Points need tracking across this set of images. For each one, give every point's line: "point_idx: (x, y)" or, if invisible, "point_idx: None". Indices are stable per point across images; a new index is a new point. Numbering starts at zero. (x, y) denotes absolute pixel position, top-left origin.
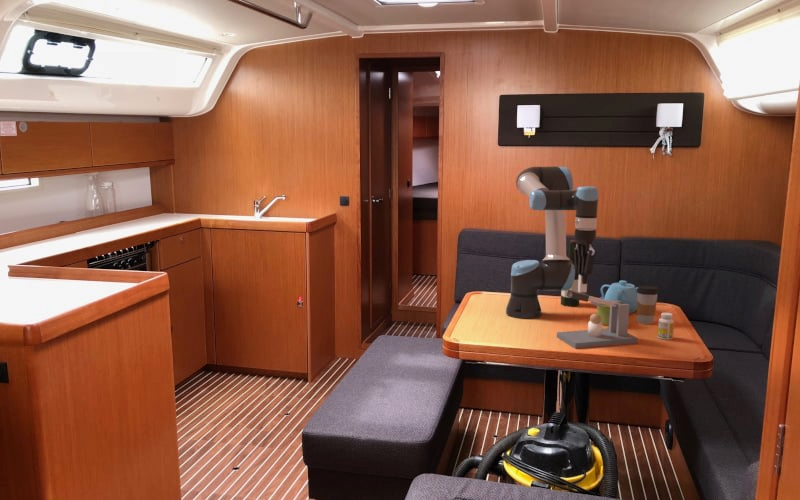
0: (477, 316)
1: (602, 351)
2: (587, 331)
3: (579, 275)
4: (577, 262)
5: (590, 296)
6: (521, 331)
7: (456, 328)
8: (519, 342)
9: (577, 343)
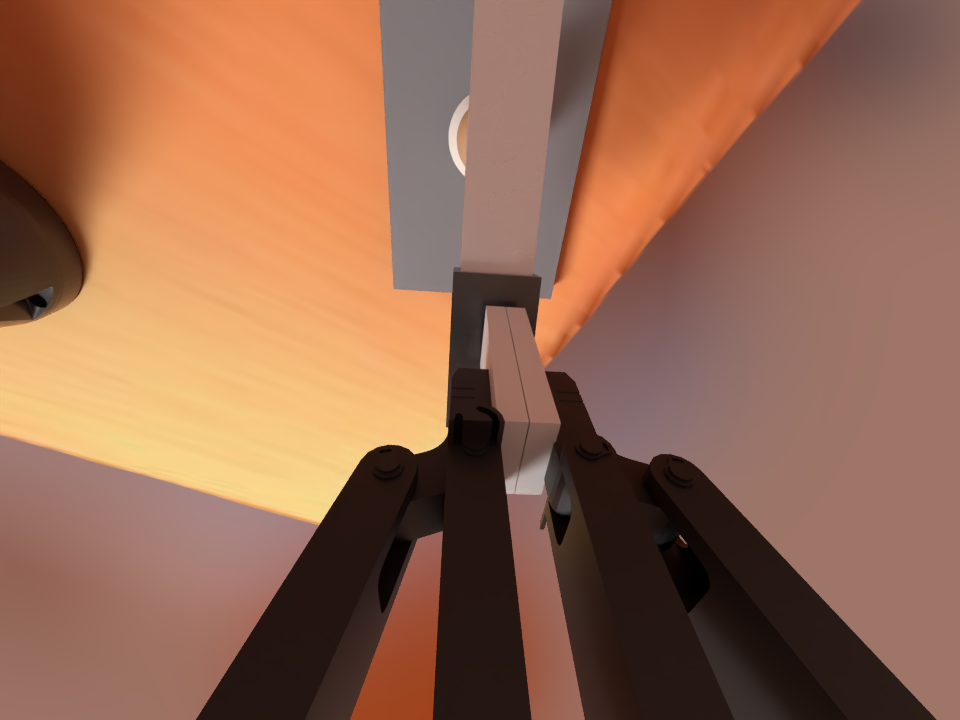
0: (86, 418)
1: (624, 205)
2: (413, 129)
3: (506, 486)
4: (361, 671)
5: (493, 223)
6: (299, 363)
7: (256, 501)
8: (423, 415)
9: (552, 289)
